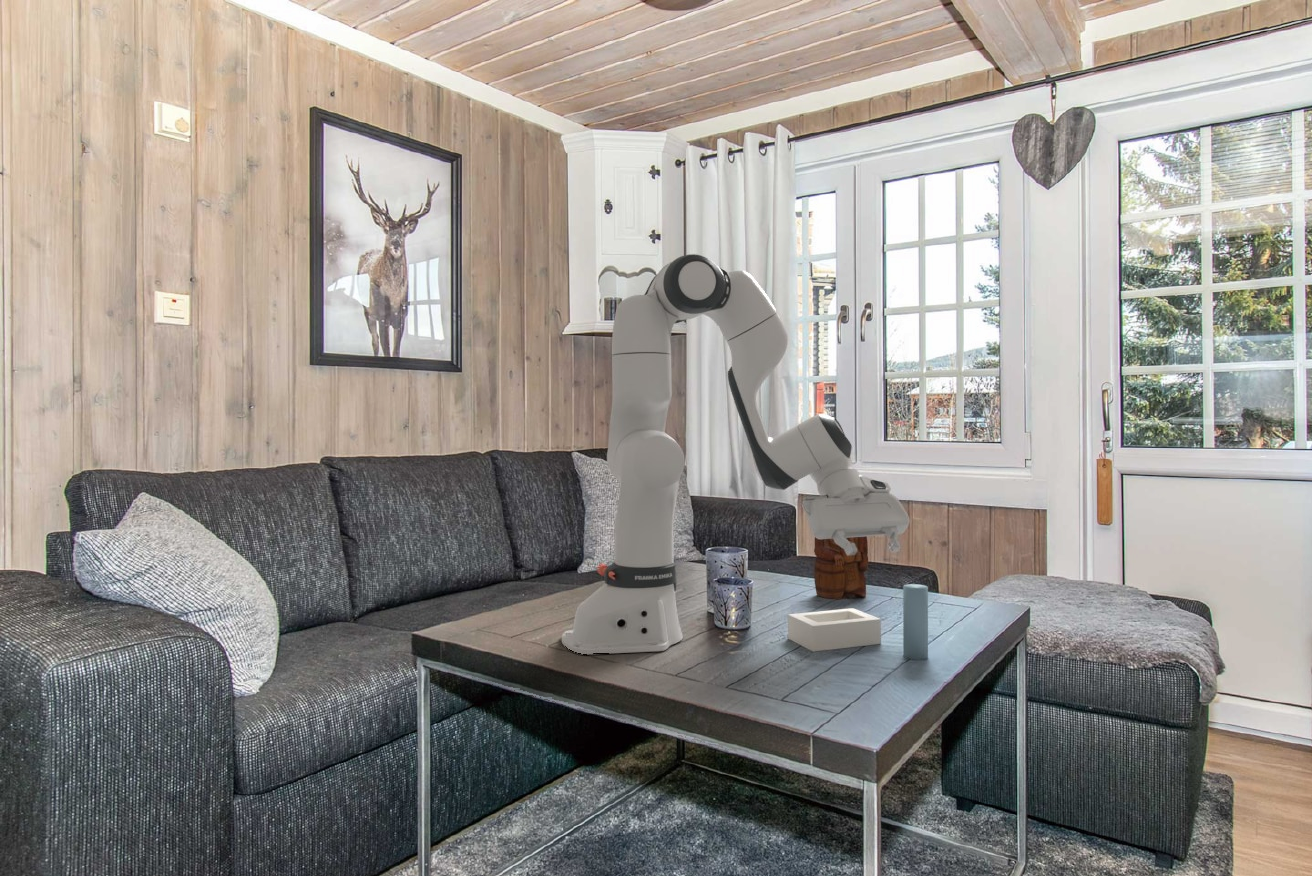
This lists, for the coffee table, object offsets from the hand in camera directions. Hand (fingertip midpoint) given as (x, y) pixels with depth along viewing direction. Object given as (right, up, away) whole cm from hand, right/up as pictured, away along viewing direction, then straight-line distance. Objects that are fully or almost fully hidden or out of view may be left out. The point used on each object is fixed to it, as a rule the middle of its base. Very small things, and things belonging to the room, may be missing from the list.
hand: (874, 551), depth 146 cm
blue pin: (+4, -16, -11) cm, 20 cm away
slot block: (-8, -16, -1) cm, 18 cm away
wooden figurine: (+2, -16, +36) cm, 39 cm away
